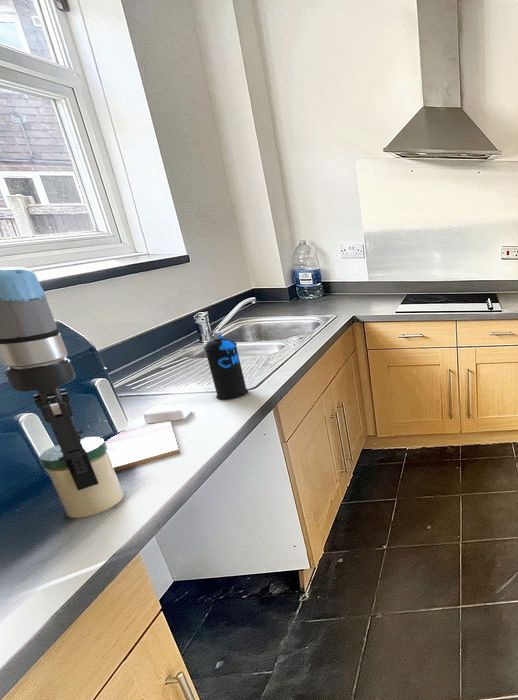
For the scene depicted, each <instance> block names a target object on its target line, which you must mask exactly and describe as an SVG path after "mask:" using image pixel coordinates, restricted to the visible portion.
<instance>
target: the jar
mask: <svg viewBox="0 0 518 700" xmlns="http://www.w3.org/2000/svg"><path fill="white" fill-rule="evenodd" d="M90 463H91V466H92V468H93V471H94V473H95V475H96V478H97V480H98V483H99V484H96V485H93V486H90V487H87V488H84V489H82V490H79V491H78V489H77V487H76V485H75V482H74V480H73V478H72V475H71V473H70V471H69V468H64V469H56V470H51V469H46V468H45V470H46V472H47V474H48V476H49V479H50V480H51V483H52V485H53V488H54V490H55V492H56V494H57V497H58V499H59V501H60V503H61V505H62V507H63V509H64V511H65V514H66V516H67V517H69V518H72V519H78V518H79V519H80V518H86V517H91V516H94V515H97V514H100V513H103V512H105V511H106V510H107V511H108V510H109V509H111V508H112V507H114V506H117V504H118V503H120V502H121V501H122V500H123V499H124V496H125V495H124V494H125V493H124V491H123V488H122V486H121V483H120V480H119V477H118V475H117V473H116V472H117V471H115V470H114V467H113V465H112V462H111V460H110V457H109V454H108V452H107V450H106V452H105V453H104V454H102V455H101V456H99V457H98V458H96V459H94V460H91V461H90Z"/></svg>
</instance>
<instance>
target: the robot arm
mask: <svg viewBox="0 0 518 700" xmlns="http://www.w3.org/2000/svg"><path fill="white" fill-rule="evenodd" d="M68 355H69V353H68V350H67V348H66V345H65V342H64V340H63V337H62V335H61V333H60V332H59V330H58V326H57V323H56V321H55V318H54V316H53V313H52V311H51V307H50V305H49V302H48V299H47V296H46V291H45V290H44V289H43V287H42V285H41V283H40V281H39V279H38V277H37V275H36V274H35V272H34V271H33V270H31V269H30V268H27V267H20V266H13V267H0V363H1V366H3V367H6V368H5V370H4V373H5V376H6V379H7V380H8V382H9V385H10V388H11V389H12V390H14V391H16V392H30V391H36V392H38V394H34V395H33V400H34V403H35V406H36V407H37V409H39V410H40V412H41V414H42V416H43V419H44V421H45V422H46V423H49V424H50V426H51V429H52V431H53V434H54V436H55V438H56V441H57V443H58V445H60V448H61V450H62V453H63V457H60V458H58V459H59V461H63V460H65V461H66V464H67V466H68V468H69V471H70V473H71V475H72V478H73V480H74V482H75V485H76V487H77V489H78V491H79V490H82V489H84V488H87V487H90V486H93V485H96V484H99V483H98V480H97V478H96V475H95V473H94V471H93V468H92V466H91V463H90V461H89V458H88V456H87V453H86V451H85V449H83V447H82V444H81V442H80V438H81V436H80V434H84V431H83V429H82V427H79V428H76V423H74V422H73V419H72V418H73V417H74V416H75V413H74V411H73V409H72V406H71V404H70V403H71V399H70V396H69V393H68V391H67V389H66V388H62V389H60V386H62V385H66V384H68V383H70V382H73V381H74V380H75V379H76V377H77V376H76V373H75V370H74V367H73V364H72V362H71V359H69V358H68V357H67V356H68Z"/></svg>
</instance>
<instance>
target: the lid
mask: <svg viewBox="0 0 518 700" xmlns="http://www.w3.org/2000/svg"><path fill="white" fill-rule="evenodd" d="M100 437H101V436H88V437H80V442H81V444H82V447H83V449H85V451H86V453H87V456H88V458H89V461H91V460H94V459H96V458H98V457H99V456H101V455H102V454H104V453H105V452H106V450H107V446H106V444H105V441H104V439H103V438H100ZM60 457H63V453H62V450H61V448H60V445H59V444H57V445H54V446H52V447H50V448H48V449H46V450H45V451H43V452H42V453H41V454H40V455H39V460H40V462H41V463H42V466H43V468H44V469H45V470H46V469H51V470H56V469H64V468H68V466H67V464H66V461H65V460H63V461H59V459H58V458H60Z"/></svg>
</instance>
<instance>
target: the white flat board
mask: <svg viewBox="0 0 518 700" xmlns="http://www.w3.org/2000/svg"><path fill="white" fill-rule="evenodd" d="M119 432H120V433H119ZM119 432H118V433H119V434H117V435H115V436H113V437H111V438H110V439H108V440H107V441H105V444H106V446H107V452H108V454H109V457H110V460H111V462H112V465H113V467H114V470H115V472H118V471H121V470H125V469H128V468H131V467H135V466H139V465H142V464H145V463H149V462H152V461H155V460H160V459H163V458H166V457H170V456H173V455H177V454H180V452H181V451H180V447H179V444H178V441H177V438H176V434H175V431H174V428H173V424H172V421H170V420H167V421H163V422H158V423H150V424H147V425H143V426H139V427H135V428H130V429H127V430H122V431H119Z"/></svg>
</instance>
